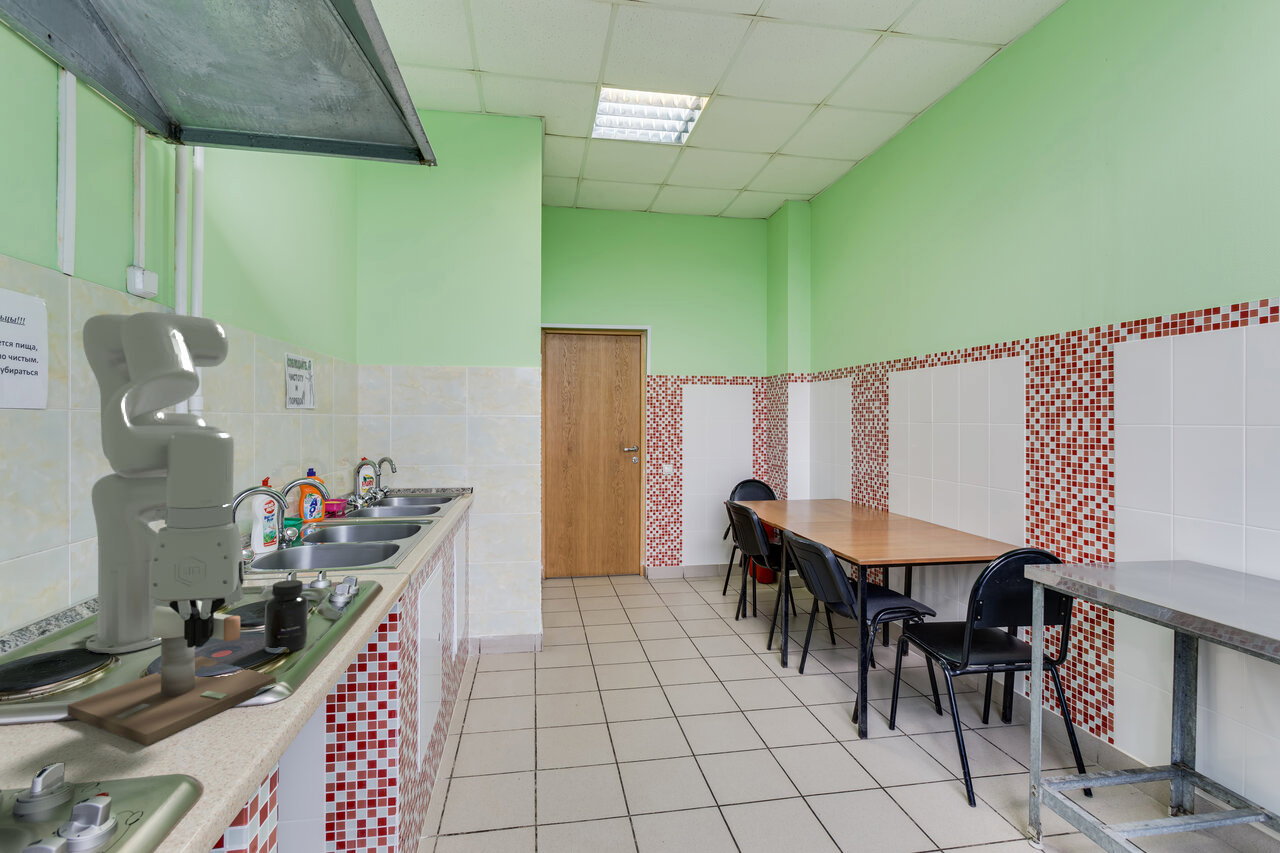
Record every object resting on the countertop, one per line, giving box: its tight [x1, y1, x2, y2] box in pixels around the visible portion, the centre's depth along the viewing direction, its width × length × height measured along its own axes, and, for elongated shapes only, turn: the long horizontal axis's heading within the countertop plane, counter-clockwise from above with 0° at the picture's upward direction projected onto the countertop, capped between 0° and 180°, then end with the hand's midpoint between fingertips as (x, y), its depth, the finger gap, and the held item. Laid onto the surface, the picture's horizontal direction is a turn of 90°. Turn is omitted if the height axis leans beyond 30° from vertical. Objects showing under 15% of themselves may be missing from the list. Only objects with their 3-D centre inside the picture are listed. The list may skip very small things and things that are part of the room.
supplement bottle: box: [263, 579, 309, 653], centre depth 108 cm, size 7×7×12 cm
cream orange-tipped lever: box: [153, 600, 241, 642], centre depth 87 cm, size 14×6×4 cm, turn 76°
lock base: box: [67, 636, 277, 747], centre depth 88 cm, size 18×18×10 cm
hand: (198, 643), depth 83 cm, fingers closed
